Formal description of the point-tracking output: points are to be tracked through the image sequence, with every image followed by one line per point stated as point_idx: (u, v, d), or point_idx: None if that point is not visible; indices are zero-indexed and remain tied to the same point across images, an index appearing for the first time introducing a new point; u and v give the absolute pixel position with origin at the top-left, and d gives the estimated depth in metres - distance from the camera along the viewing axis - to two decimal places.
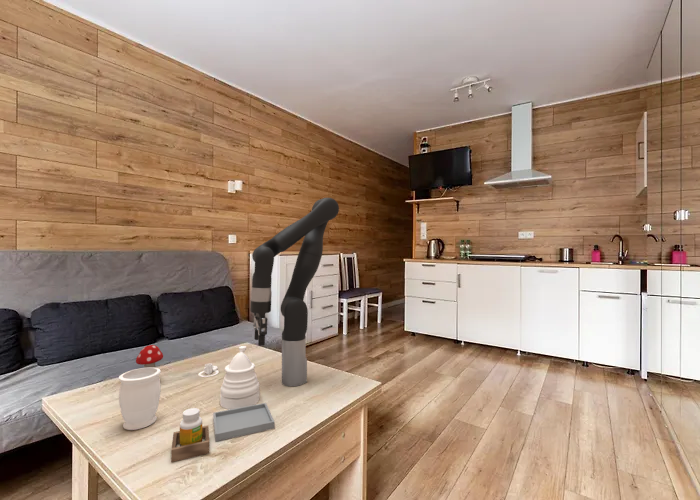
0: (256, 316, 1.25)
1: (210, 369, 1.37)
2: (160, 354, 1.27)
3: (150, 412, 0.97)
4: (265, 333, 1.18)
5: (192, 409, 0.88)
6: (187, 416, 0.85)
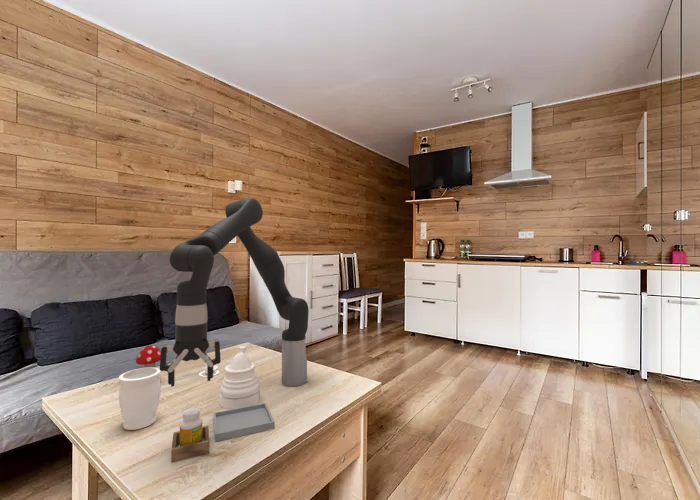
0: (185, 348, 0.85)
1: None
2: (160, 354, 1.27)
3: (150, 412, 0.97)
4: None
5: (192, 409, 0.88)
6: (187, 416, 0.85)
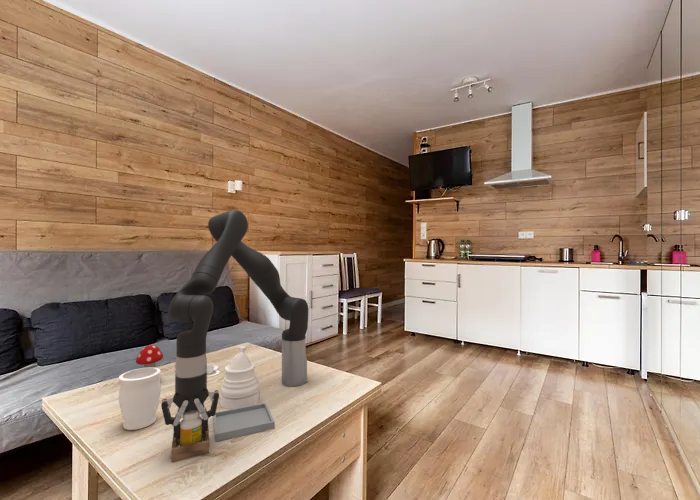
0: (184, 399, 0.85)
1: (211, 369, 1.37)
2: (160, 354, 1.27)
3: (150, 412, 0.97)
4: None
5: None
6: (187, 416, 0.85)
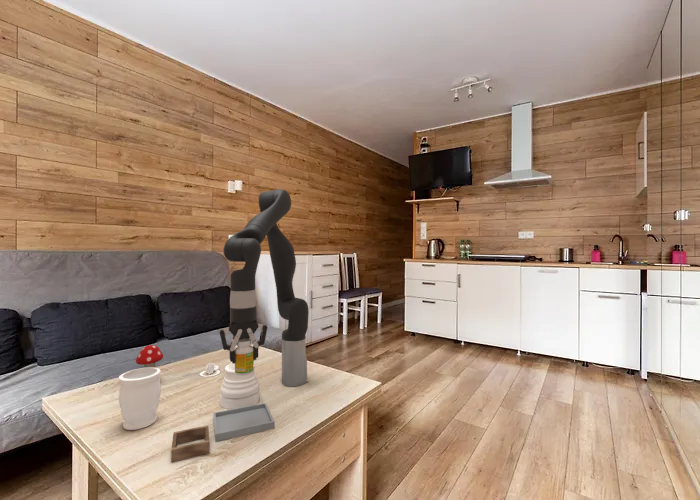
0: (238, 328, 0.97)
1: (211, 369, 1.38)
2: (160, 354, 1.27)
3: (150, 412, 0.97)
4: None
5: (244, 339, 1.00)
6: (241, 343, 0.97)
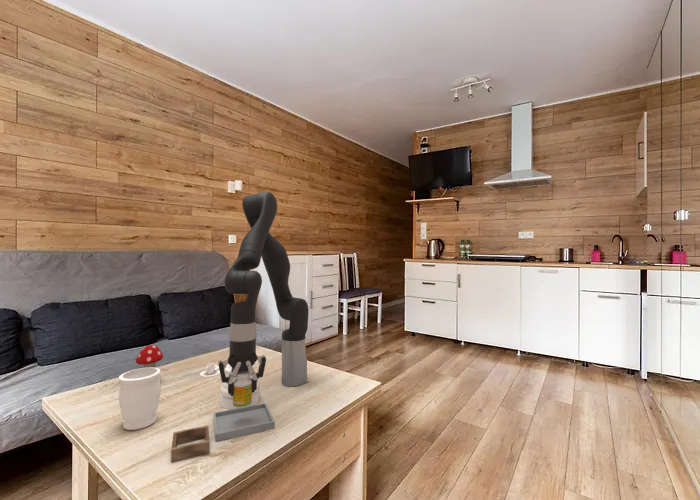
0: (237, 361, 0.97)
1: (212, 369, 1.38)
2: (160, 354, 1.27)
3: (150, 412, 0.97)
4: None
5: (243, 371, 1.00)
6: (240, 375, 0.97)
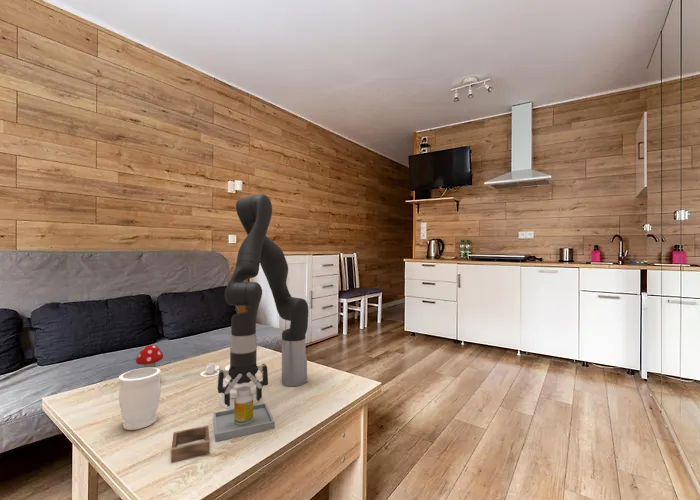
0: (238, 372, 0.97)
1: (212, 369, 1.38)
2: (160, 354, 1.27)
3: (150, 412, 0.97)
4: None
5: (244, 387, 1.00)
6: (241, 392, 0.97)
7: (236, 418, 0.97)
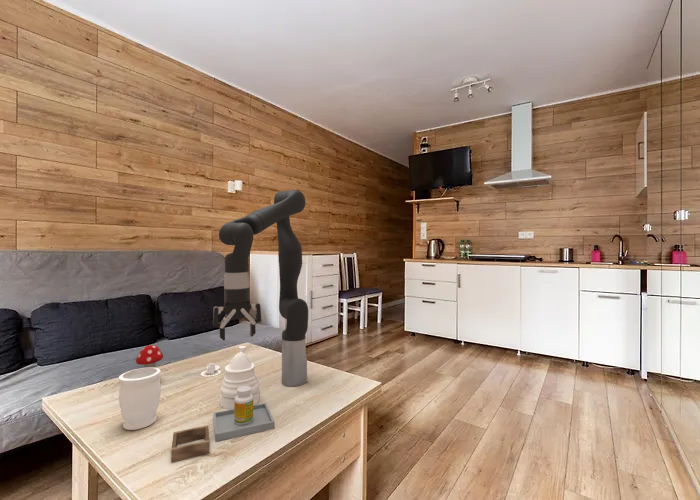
0: (233, 308, 1.02)
1: (212, 369, 1.38)
2: (160, 354, 1.27)
3: (150, 412, 0.97)
4: None
5: (244, 387, 1.00)
6: (241, 392, 0.97)
7: (236, 418, 0.97)
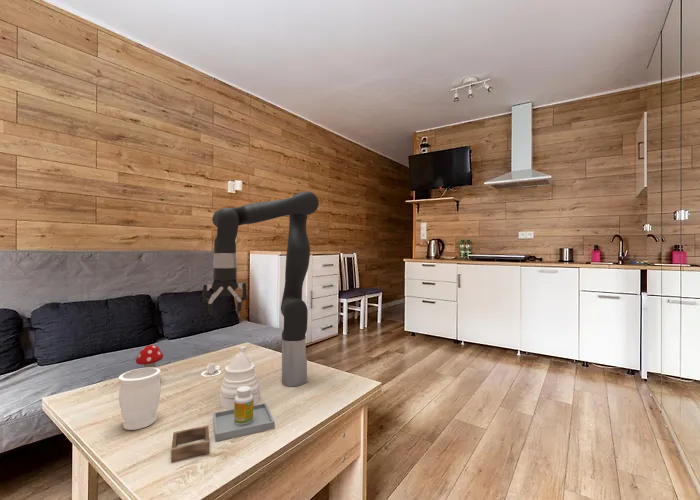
0: (220, 286, 1.12)
1: (213, 369, 1.38)
2: (160, 354, 1.27)
3: (150, 412, 0.97)
4: None
5: (244, 387, 1.00)
6: (241, 392, 0.97)
7: (236, 418, 0.97)
